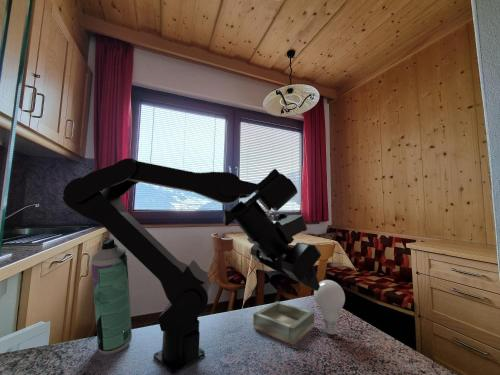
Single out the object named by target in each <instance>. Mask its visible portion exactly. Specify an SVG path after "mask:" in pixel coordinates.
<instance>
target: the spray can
mask: <svg viewBox="0 0 500 375" xmlns="http://www.w3.org/2000/svg"><path fill="white" fill-rule="evenodd" d="M91 259H92V260H91V269H92V270H91V273H92V284H93V299H94V300H93V301H94V314H95V315H94V316H95V324H96V325H95V328H96V339H97V340H96V341H97V350H98V352H99V354H101V355H103V356H104V355H105V356H106V355H107V356H109V355H115V354H116V353H119V352H121V351H122V350H124V349H125V348H126V347H128V346H129V344H131V341H132V339H133V333H132V332H133V331H132V318H131V303H130V302H131V301H130V300H131V297H130V283H129V265H128V254H127V248H125V247H124V248H123V247H120V246H119V245H118V244H117V243H115V239H114V238H108V239H105V240H103V241H102V246H101V247H100V248H99V250H98V251H97V252H95V253H94V254H92V256H91ZM123 331H124V332H123Z"/></svg>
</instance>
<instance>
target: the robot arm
mask: <svg viewBox="0 0 500 375" xmlns="http://www.w3.org/2000/svg"><path fill="white" fill-rule="evenodd" d="M139 183H142V184H148V185H154V186H159V187H163V188H169V189H173V190H178V191H179V190H180V191H184V192H189V193H194V194H197V195H199V196H202V197H205V198H206V199H210V200H212V201H213V202H214V201H215V202H217V203H220V204H223V205H233V204H234V203H236V202H237V201H238V200H239V199H246V198H249V197H250V198H249V199H247V201H245V202H243V201H242V200H240V201H239V202H238V203H237V204H236V205H234V206H233V207H231V209H225V208H224V209H223V219H222V222H223V224H224V225H225V226H226V227H227V226H229V225H230V224H232V223H233V222H235V223H236V224H237V225H238V227H239V229H241V231H243V233H244V235H245V236H247V239H246V240H247V241H248V243H250V244H252V247H250V255H251V257H252V258H253V259H254V260H256V261H258V262H259V264H260V263H261V264H262V265H263V266H265V267H268V268H270V269H272V270H274V271H276V272H278V273H279V274H281V275H282V276H286V277H287V278H290V279H292V280H294V281H297V282H299V283H300V284H302V285H305V286H306V287H308V288H310V289H311V290H315V291H318V289H319V288H320V285H319V282H320V281H319V280H318V276H317V273H316V270H315V266H314V265H316V263H317V262H318V261H319V259H320V258H321V257H322V252H321V251H320V250H319V249H318V247H317V246H316V245H315V244H310V243H306V242H296V244H294V245H293V246H289V245H291V244H292V243H293V242H294V241H295V239H294V236H296V235H298V234H301V233H302V232H307V231H308V226H307V224H306V221H305V218H304V215H303V214H288V215H286V214H285V212H283V213H282V212H281V213H278V214H275V215H274V220H272V218H270V216H269V214H267V212H266V211H265V210H267V211H268V212H270V211H271V210H273V211H275V212H278V211H279V210H280V209H281V208H282V207H284V206H285V205H286V204H287V203H288V202H289V201H291V200H292V199H293V198H294V197H295V196H296V195H298V189H297V187H296V185H295V184H294V182H293V181H292V180H291V179H290V178H288V177H287V176H286V175H284V174H283V173H281V172H279V171H278V170H277V168H274V169H272V170H271V171H270V172H269V173H268V174H267V175H266V177H264V178H263V179H262V180H261V181H260V182H258V183H254V182H251V181H250V182H249V181H247V180H242V179H240V177H238V175H237V174H235V173H232V172H230V171H228V172H227V171H207V172H194V171H189V170H185V169H179V168H174V167H169V166H165V165H160V164H154V163H149V162H144V161H139V160H136V159H134V158H128V157H127V158H123V159H121V160H119V161H117V162H115V163H114V164H111V165H108V166H106V167H103V168H99V169H97V170H94V171H91V172H89V173H87V174H86V175H84V176H82V177H77V178H74V179H72V180H71V181H69V182H68V183H67V184H66V186H65V187H64V189H63V196H62V198H61V199H62V202H63V203H64V205H65V206H67V207H68V208H69V209H70V210H72V211H73V212H75V213H77V214H78V215H79V216H81V217H82V218H85V219H88V220H90V221H92V222H94V223H96V224H98V225H100V226H102V227H103V228H105V229H106V230H107V231H108V232H109V233H110V234H111V235H112V236H113V237H114V238H115V239H116V240H117V241H118V242H120V244H121V245H123V247H124V249H126V250H128V251H129V252H130V254H132V255H133V256H134V258H136V259H137V260H138V261H139V262H140V263H141V264H142V265H143V266H144V267H145V268H146V269H147V270H149V272H150V273H151V274H152V275H154V277H155V278H157V279H158V281H159V282H160V285H161V287H162V289H163V291H164V294H165V296H166V299H167V300H168V301H169V303H168V304H167V306H166V307H165V308H164V309H163V311H162V312H161V314H160V315H159V316H158V319H157V320H158V324H159V327H160V331H161V332H163V333H162V347H161V350H159V351H157V352H155V353H154V354H153V359H154V360H156V362H158V363H159V364H160V365H162V366H163V367H164V368H165V369H166V370H168V371H169V372H170V373H171V374H176V373H177V372H179V371H181V370H182V369H184V368H186V367H187V366H189V365H191V364H192V363H195V362H196V361H197V360H200V358H202V357H205V354H206V351H205V350H203V349H202V348H201V347H200V337H201V336H200V320H199V317H198V316H199V315H201V314H202V313H203V312H204V311H205V309H206V308H207V307H208V303H209V299H210V295H211V291H212V283H211V280H210V278H209V277H208V274H209V272H208V271H205V270H203V269H202V268H201V267H200V266H199V265H198V263H197V262H196V261H195V260H194V259H193V260H191V261H190V262H189V264H187V263H184V262H182V261H180V260H178V258H177V257H176V256H174V255H173V253H171V252H170V251H169V250H168V249H167V248H166V247H165V246H164V245H163V244H162V243H161V242H160V241H159V240H158V239H157V238H156V237H154V235H153V234H151V233H150V231H148V230H147V229H146V228H145V227H144V226H143V225H142V224H140V222H139V221H138V220H137V219H136V218H135V217H133V216H132V215H131V214H130V212H128V211H127V209H126V207H125V203H124V200H123V199H122V197H123V196H124V195H126V194H127V193H128V192H129V191H130V190H131V189H132V188H134V186H135V185H137V184H139ZM254 193H255V194H254ZM251 195H253V196H251ZM259 203H260V204H259ZM262 206H263V208H262ZM264 209H265V210H264Z"/></svg>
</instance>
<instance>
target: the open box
mask: <svg viewBox="0 0 500 375" xmlns="http://www.w3.org/2000/svg"><path fill="white" fill-rule="evenodd" d="M252 326H253V329H254V330H257V331H259V332H261V333H263V334H267V335H268V336H271V337H273V338H275V339H278V340H281V341H282V342H285V343H287V344H289V345H292V346H295V345H296V343H298V342H299V341H300V340H301V339H302V338H304V336H305V335H306V334H307V333H308V332H310V331H311V330H312V329H314V327H315V312H314V311H312V310H308V309H304V308H302V307H297V306H295V305H291V304H288V303H284V302H281V301H278V300H277V301H275V302H273V303H271V304H269V305H268V306H266V307H264V308H262V309H260V310H259V311H256V312H255V313H253V324H252Z"/></svg>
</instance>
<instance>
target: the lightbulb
mask: <svg viewBox="0 0 500 375" xmlns="http://www.w3.org/2000/svg"><path fill="white" fill-rule="evenodd" d="M318 282H319V285H320V288H319V289H318V291H315V290H314V292H313V295H314V296H313V297H314V300H315V302H316V304H317V306H318V307H319V309H320V312H321V316H322V318H323V331H324V332H325V333H326V334H327V335H329V336H333V335H335V334H337V333H338V331H337V330H338V328H337V327H338V326H337V325H338V324H337V322H338V321H337V320H338V318H339V314H340V311H341V310H342V308H343V307H344V305H345V302H346V294H345V292H344V289H343V287H341V285H340V284H339V283H337V282H336V281H334V280H331V279H324V280H321V281H318Z"/></svg>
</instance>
